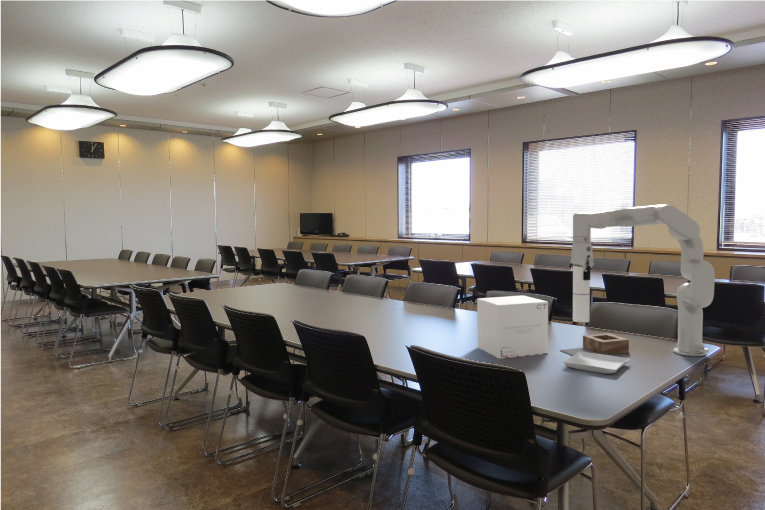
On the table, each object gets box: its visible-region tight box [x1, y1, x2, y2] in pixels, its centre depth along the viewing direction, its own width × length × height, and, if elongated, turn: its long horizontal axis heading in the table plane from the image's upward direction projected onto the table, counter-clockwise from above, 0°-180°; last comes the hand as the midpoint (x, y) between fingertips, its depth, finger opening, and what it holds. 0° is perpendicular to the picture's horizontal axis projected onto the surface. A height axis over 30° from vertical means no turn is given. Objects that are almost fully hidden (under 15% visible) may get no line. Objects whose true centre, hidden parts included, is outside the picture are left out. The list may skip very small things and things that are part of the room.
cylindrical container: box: [572, 265, 591, 323], centre depth 237 cm, size 7×7×25 cm
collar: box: [582, 332, 630, 356], centre depth 243 cm, size 14×14×6 cm
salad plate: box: [562, 352, 631, 375], centre depth 217 cm, size 21×21×3 cm
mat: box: [559, 347, 598, 357], centre depth 239 cm, size 12×12×1 cm
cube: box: [476, 295, 549, 359], centre depth 246 cm, size 25×21×24 cm
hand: (581, 278), depth 237 cm, fingers closed on cylindrical container, 7 cm apart
